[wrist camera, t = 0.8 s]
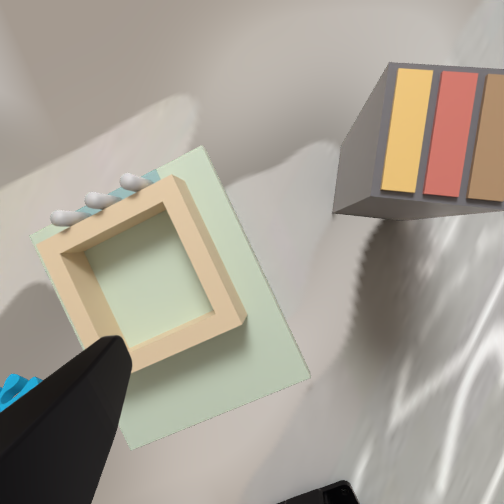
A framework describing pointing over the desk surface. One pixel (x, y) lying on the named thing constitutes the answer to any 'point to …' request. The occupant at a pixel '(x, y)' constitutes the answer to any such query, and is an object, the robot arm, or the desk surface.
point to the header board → (172, 296)
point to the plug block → (425, 145)
